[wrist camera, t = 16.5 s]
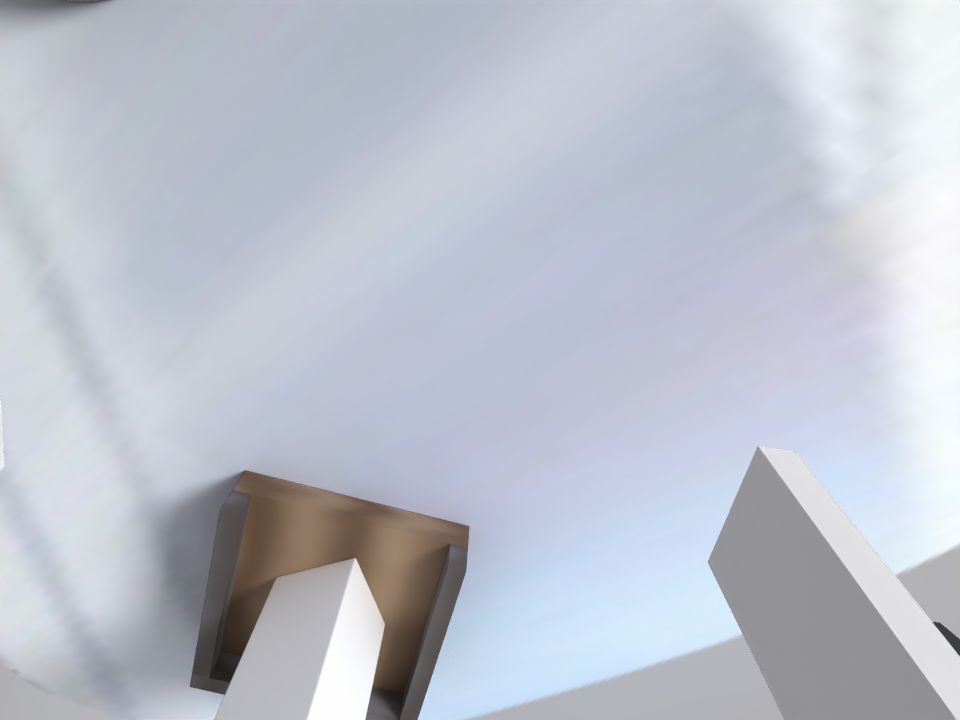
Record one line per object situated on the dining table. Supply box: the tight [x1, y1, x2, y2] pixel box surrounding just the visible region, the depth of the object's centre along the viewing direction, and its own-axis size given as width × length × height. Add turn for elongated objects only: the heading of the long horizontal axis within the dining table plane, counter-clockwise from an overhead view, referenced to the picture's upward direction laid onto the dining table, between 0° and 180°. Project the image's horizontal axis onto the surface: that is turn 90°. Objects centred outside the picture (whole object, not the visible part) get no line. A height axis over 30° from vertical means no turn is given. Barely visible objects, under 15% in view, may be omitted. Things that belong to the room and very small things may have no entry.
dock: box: [190, 471, 469, 720], centre depth 53 cm, size 16×15×5 cm
